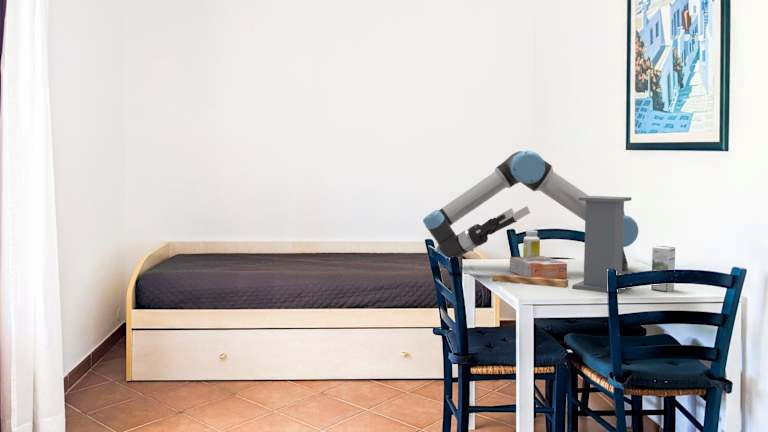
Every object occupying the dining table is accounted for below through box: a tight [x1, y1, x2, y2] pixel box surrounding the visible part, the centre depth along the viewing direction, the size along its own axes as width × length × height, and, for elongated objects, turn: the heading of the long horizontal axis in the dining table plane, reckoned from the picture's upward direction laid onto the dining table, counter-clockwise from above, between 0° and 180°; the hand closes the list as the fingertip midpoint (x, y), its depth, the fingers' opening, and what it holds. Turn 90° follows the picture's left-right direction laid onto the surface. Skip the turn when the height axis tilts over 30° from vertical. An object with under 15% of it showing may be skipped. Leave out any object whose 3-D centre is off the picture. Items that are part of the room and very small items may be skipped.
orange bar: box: [492, 273, 569, 288], centre depth 273 cm, size 26×4×2 cm, turn 61°
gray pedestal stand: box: [571, 195, 632, 294], centre depth 263 cm, size 16×14×30 cm
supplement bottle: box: [522, 229, 541, 257], centre depth 328 cm, size 7×7×13 cm
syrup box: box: [650, 245, 676, 293], centre depth 261 cm, size 6×6×14 cm
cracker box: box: [509, 255, 568, 279], centre depth 291 cm, size 14×6×21 cm
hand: (521, 210), depth 279 cm, fingers open, 12 cm apart
